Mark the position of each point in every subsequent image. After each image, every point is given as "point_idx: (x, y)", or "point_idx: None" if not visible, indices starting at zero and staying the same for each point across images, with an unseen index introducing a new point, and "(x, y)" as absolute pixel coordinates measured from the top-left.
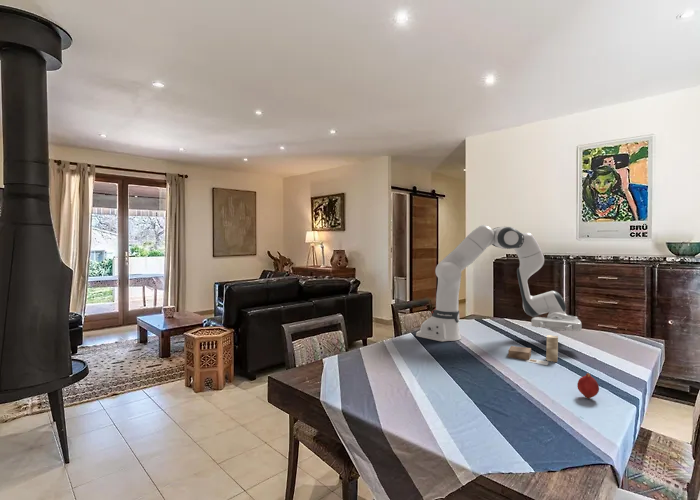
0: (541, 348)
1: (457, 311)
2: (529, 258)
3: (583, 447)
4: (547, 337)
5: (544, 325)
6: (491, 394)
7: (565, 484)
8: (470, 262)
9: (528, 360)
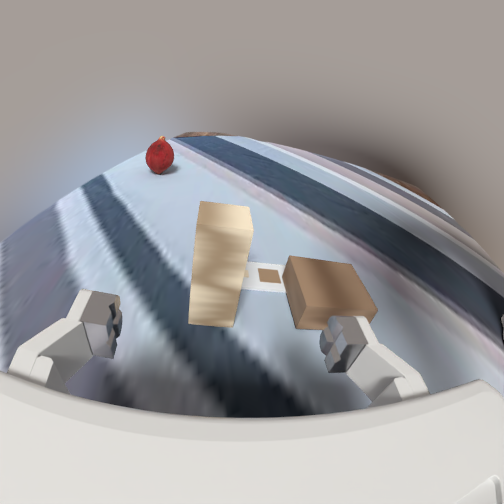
0: None
1: None
2: None
3: (185, 141)
4: (244, 208)
5: (332, 321)
6: (273, 170)
7: (199, 133)
8: None
9: (282, 274)
